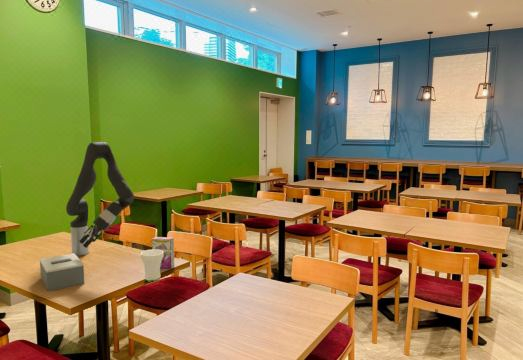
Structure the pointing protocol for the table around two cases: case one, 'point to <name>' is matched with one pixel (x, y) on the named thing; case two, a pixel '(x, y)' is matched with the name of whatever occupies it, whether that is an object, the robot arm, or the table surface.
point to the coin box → (61, 271)
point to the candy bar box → (165, 250)
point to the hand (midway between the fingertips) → (82, 244)
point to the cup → (152, 263)
